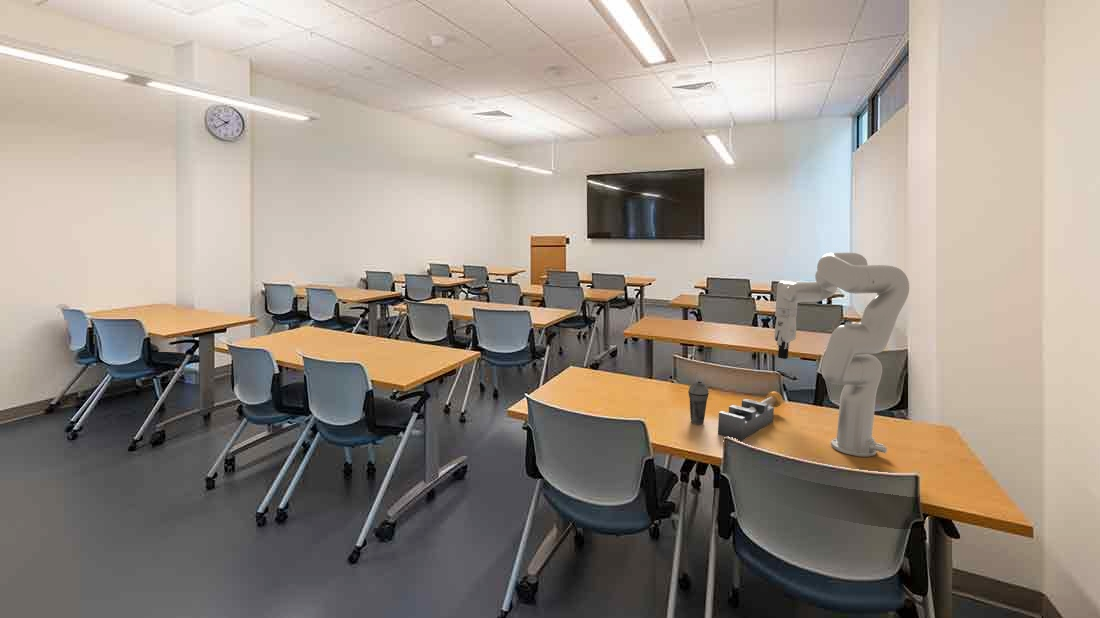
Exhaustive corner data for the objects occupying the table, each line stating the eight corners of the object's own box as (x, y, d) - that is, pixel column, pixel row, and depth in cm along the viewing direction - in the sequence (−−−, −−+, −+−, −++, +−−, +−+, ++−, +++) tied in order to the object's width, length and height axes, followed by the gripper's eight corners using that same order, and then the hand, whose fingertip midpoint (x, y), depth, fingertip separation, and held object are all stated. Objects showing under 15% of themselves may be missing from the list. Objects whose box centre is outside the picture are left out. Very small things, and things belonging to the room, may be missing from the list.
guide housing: (772, 422, 183) (774, 400, 182) (741, 441, 166) (742, 417, 165) (750, 416, 189) (752, 395, 188) (717, 434, 172) (719, 411, 171)
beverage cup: (709, 426, 179) (712, 373, 176) (689, 426, 179) (692, 372, 177) (704, 419, 186) (706, 367, 184) (684, 418, 187) (686, 367, 184)
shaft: (782, 408, 192) (783, 393, 191) (753, 424, 174) (754, 408, 174) (766, 404, 196) (767, 389, 195) (737, 420, 179) (738, 404, 178)
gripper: (788, 315, 184) (785, 363, 187) (803, 311, 194) (799, 356, 197) (768, 313, 190) (765, 359, 192) (783, 309, 200) (780, 353, 202)
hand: (782, 358), depth 195 cm, fingers closed
